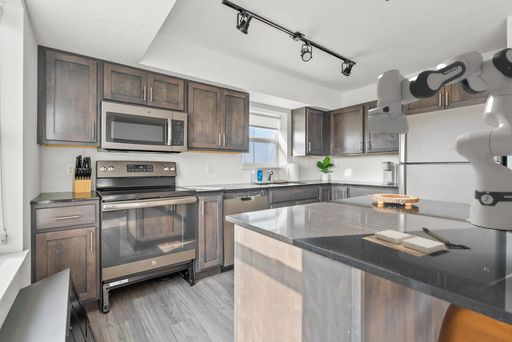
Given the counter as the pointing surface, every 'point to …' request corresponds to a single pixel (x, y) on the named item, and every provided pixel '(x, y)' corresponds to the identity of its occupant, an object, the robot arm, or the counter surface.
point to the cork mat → (400, 246)
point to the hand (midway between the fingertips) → (389, 144)
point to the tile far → (392, 236)
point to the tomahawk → (444, 239)
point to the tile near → (423, 245)
